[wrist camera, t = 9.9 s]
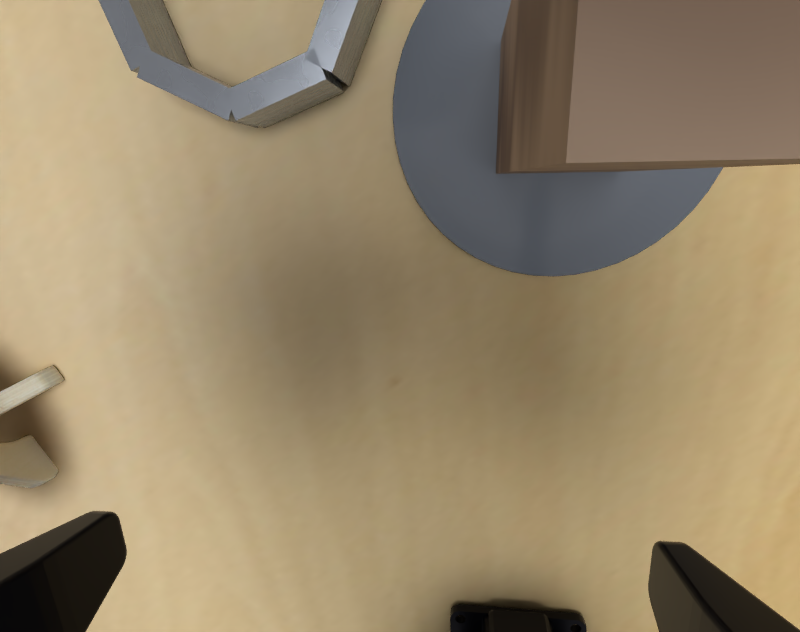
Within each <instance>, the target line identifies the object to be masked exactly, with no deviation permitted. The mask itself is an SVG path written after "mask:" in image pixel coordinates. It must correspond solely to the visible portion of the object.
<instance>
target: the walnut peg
mask: <svg viewBox="0 0 800 632" xmlns="http://www.w3.org/2000/svg"><path fill="white" fill-rule="evenodd" d="M786 164H800V0H511V4H510V7H509V11H508V15H507V19H506V23H505V27H504V31H503V35H502V39H501V50H500V76H499V102H498V128H497V154H496V174H509V173H568V172H623V171H646V170H669V169H693V168H716V167H739V166H762V165H786Z"/></svg>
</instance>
